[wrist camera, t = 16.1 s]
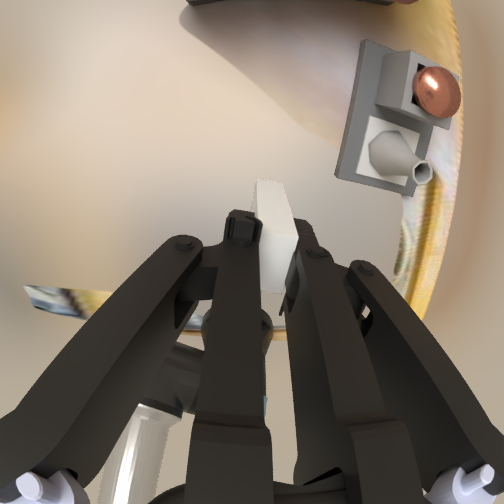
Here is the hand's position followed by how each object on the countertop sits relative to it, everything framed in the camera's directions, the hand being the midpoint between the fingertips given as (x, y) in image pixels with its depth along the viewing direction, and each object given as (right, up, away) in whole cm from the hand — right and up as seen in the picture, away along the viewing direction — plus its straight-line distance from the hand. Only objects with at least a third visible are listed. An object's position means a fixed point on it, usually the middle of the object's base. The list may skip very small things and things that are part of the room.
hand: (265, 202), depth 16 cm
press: (+20, +17, +18) cm, 32 cm away
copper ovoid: (+21, +20, +12) cm, 31 cm away
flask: (+19, +12, +19) cm, 30 cm away
